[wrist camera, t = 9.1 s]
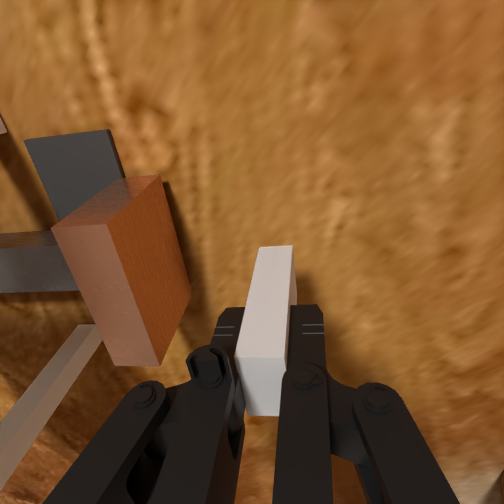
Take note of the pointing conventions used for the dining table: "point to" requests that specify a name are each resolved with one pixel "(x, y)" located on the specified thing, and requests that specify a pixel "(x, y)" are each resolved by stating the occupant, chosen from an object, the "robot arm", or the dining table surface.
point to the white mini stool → (85, 335)
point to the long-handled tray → (111, 267)
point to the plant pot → (502, 487)
